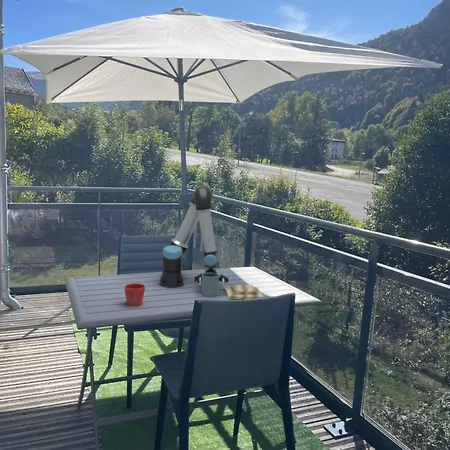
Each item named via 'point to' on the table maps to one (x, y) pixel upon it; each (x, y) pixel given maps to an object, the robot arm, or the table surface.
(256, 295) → the stepped square base
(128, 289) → the flower pot
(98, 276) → the table surface
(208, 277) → the blue-grey embossed cup
